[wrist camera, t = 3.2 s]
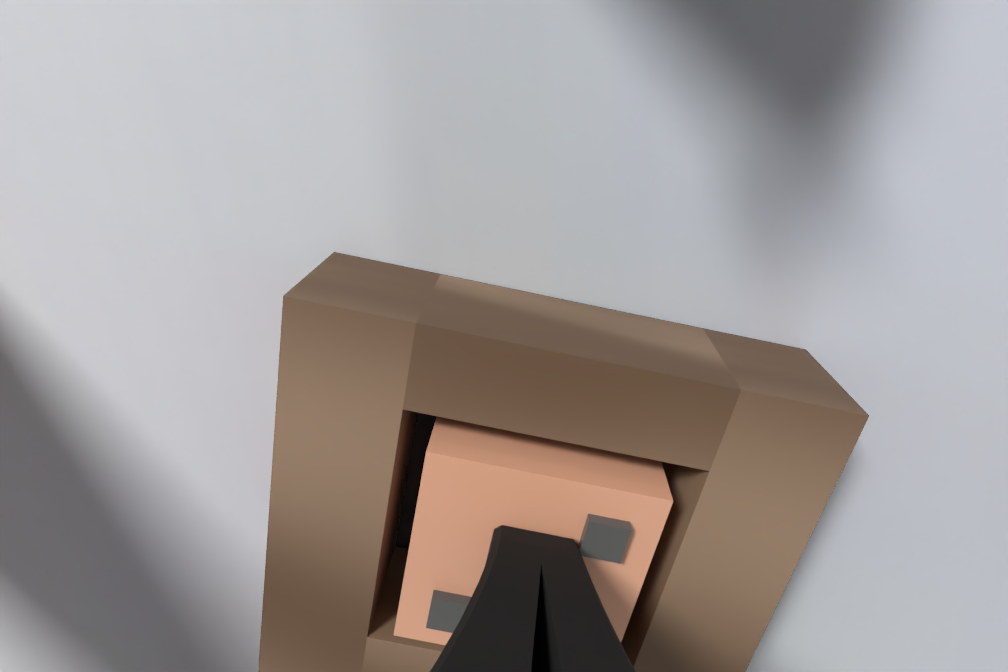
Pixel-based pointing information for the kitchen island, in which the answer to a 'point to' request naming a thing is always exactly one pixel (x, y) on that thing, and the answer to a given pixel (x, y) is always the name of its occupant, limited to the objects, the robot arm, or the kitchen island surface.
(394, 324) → the button panel
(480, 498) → the three dot button
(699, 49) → the kitchen island surface
